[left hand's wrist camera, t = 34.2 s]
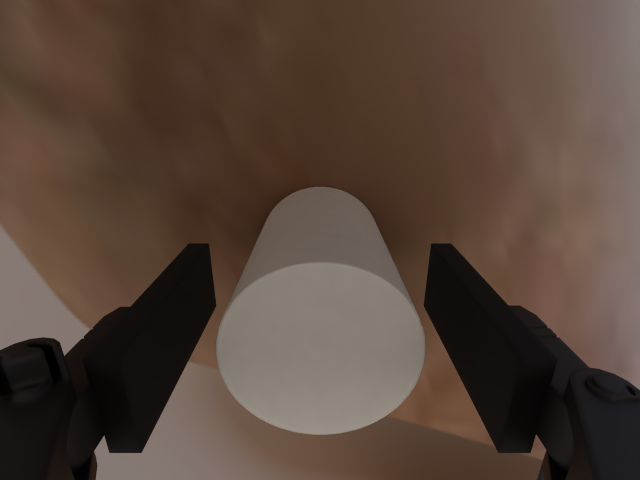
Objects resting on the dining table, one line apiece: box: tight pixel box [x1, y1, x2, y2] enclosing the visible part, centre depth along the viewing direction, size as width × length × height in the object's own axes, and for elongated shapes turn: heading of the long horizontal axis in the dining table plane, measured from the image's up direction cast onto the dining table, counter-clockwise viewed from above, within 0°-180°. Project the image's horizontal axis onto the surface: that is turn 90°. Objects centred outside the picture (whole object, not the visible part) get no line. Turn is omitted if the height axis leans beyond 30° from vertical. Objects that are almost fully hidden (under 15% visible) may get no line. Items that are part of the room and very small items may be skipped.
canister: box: [216, 187, 426, 434], centre depth 13 cm, size 6×6×8 cm
